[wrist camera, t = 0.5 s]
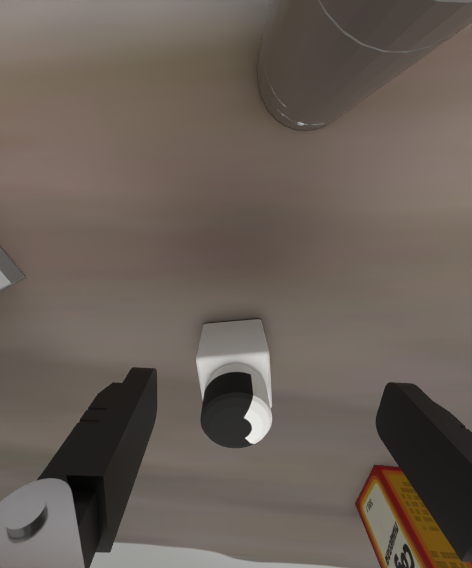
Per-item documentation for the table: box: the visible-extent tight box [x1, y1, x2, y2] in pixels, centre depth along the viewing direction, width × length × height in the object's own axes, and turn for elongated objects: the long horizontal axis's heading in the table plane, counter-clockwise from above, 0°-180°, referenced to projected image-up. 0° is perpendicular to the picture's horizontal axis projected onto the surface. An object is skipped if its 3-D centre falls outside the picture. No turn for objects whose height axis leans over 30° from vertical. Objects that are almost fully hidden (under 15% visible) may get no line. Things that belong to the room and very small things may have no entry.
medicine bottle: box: [196, 319, 272, 448], centre depth 26 cm, size 7×7×12 cm
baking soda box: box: [355, 465, 472, 568], centre depth 34 cm, size 10×6×16 cm
